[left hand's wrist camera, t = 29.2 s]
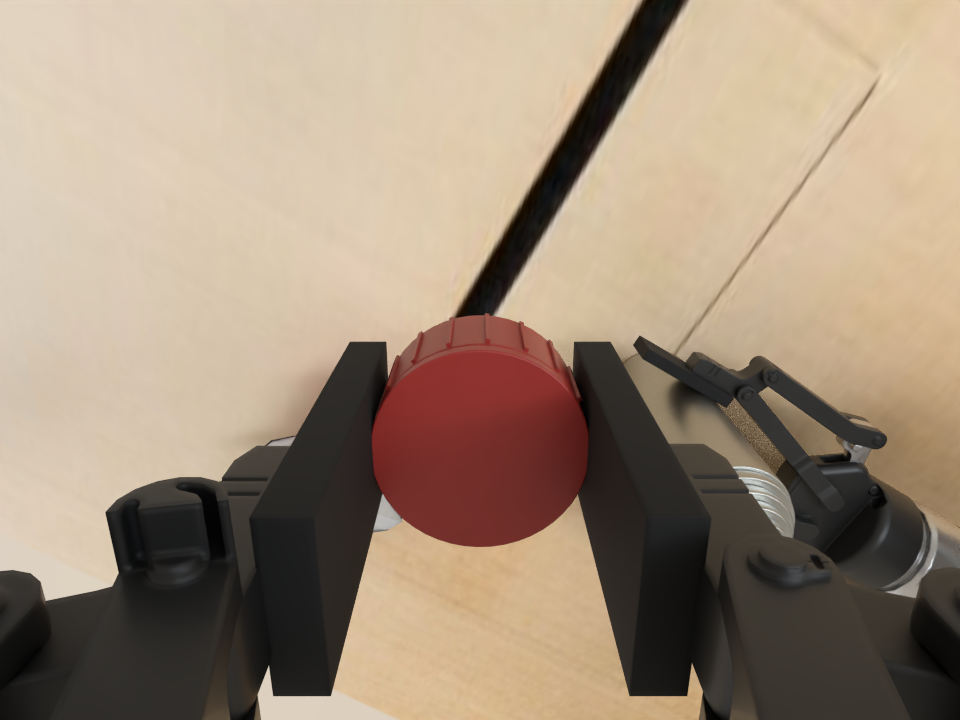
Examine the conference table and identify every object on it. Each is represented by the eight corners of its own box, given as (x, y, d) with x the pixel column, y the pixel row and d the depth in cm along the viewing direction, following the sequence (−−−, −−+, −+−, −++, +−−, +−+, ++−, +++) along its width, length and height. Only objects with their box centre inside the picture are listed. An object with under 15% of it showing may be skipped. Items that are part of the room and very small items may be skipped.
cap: (501, 271, 13) (505, 300, 11) (613, 424, 14) (636, 477, 12) (344, 384, 14) (319, 431, 12) (461, 520, 15) (458, 585, 13)
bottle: (688, 424, 52) (843, 658, 30) (608, 425, 52) (704, 659, 30) (695, 349, 50) (870, 540, 27) (612, 350, 50) (719, 541, 27)
